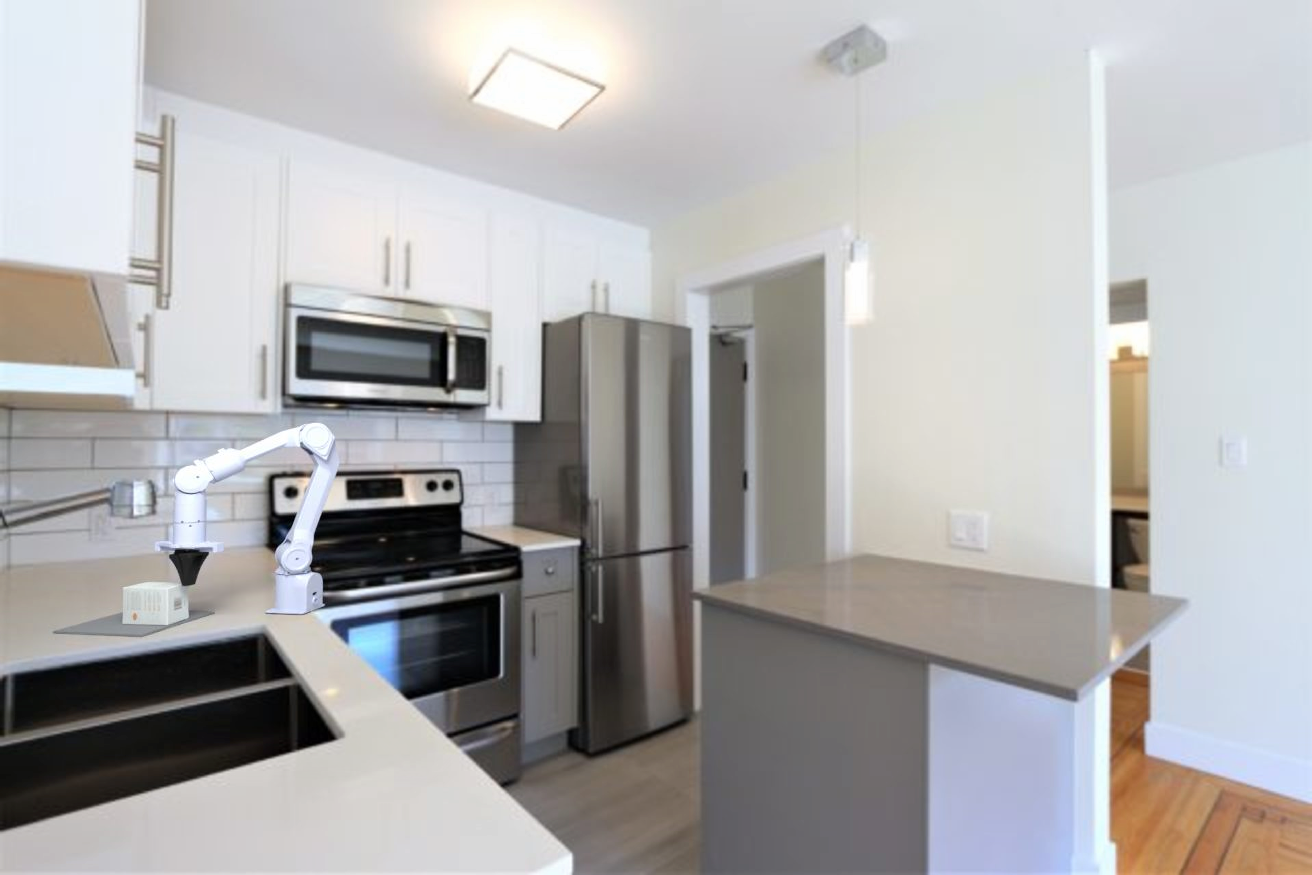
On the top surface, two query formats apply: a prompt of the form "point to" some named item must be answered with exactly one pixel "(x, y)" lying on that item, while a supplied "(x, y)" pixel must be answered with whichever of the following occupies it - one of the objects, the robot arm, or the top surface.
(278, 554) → the robot arm
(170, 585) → the small box
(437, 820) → the top surface
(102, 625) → the mat
